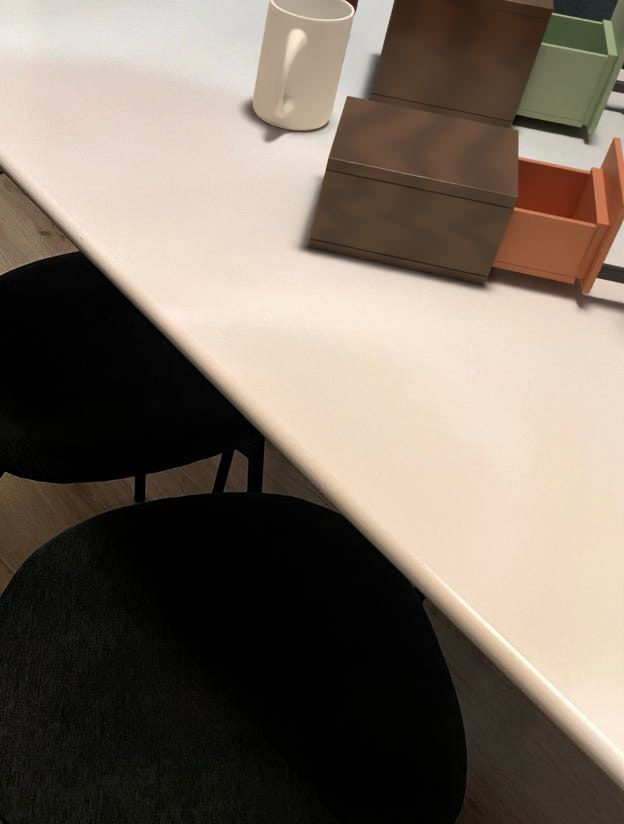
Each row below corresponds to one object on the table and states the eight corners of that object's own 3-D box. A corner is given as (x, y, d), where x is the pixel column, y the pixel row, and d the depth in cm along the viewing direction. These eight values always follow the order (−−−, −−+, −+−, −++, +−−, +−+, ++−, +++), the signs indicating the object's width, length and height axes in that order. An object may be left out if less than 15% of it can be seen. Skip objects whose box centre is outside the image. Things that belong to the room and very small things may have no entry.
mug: (231, 131, 106) (249, 17, 98) (264, 91, 113) (283, -18, 105) (310, 152, 104) (335, 38, 96) (338, 110, 112) (363, 1, 104)
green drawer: (642, 99, 120) (691, -10, 112) (652, 146, 111) (706, 31, 103) (458, 63, 122) (492, -48, 113) (453, 106, 113) (489, -10, 105)
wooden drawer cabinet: (511, 83, 122) (551, -31, 113) (510, 129, 113) (553, 8, 104) (380, 57, 124) (409, -58, 115) (369, 100, 115) (399, -21, 106)
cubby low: (488, 214, 99) (519, 130, 93) (484, 285, 90) (518, 197, 84) (327, 180, 101) (347, 95, 95) (307, 247, 92) (328, 157, 86)
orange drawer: (650, 237, 97) (700, 136, 90) (663, 310, 88) (720, 204, 81) (422, 189, 99) (454, 87, 92) (412, 256, 90) (447, 148, 83)
